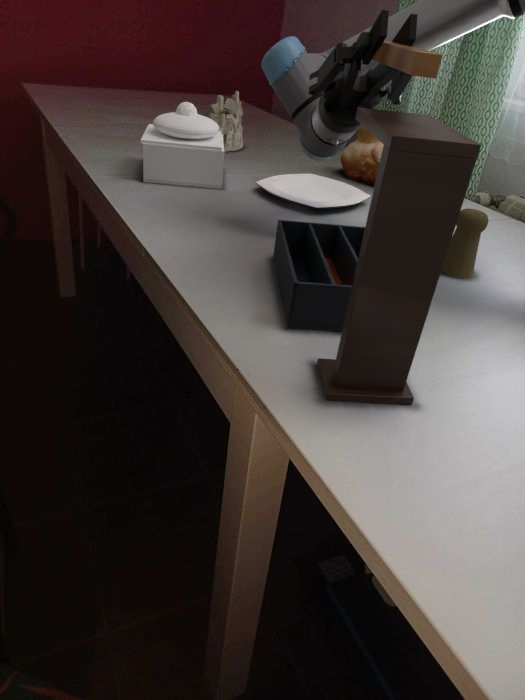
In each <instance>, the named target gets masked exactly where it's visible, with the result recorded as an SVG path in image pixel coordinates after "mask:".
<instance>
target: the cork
mask: <svg viewBox="0 0 525 700" xmlns="http://www.w3.org/2000/svg"><path fill="white" fill-rule="evenodd" d="M488 225H489V215H488V214H487V213H486V212H484V211H482V210H480V209H476V208H463V209H462V208H461V210H460V214H459V217H458V220H457V223H456V226H455V229H454V233H453V236H452V239H451V242H450V245H449V248H448V251H447V255H446V258H445V261H444V264H443V267H442V270H441V273H443V274H445V275H447V276H450V277H453V278H456V279H457V278H458V279H469V278H472V277H473V276H474V270H475V266H476V265H475V264H476V260H477V256H478V250H479V246H480V245H479V244H480V240H481V235H482V233H483V232H484V231H485V230H486V229H487V227H488Z"/></svg>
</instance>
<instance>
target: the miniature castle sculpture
mask: <svg viewBox="0 0 525 700" xmlns="http://www.w3.org/2000/svg"><path fill="white" fill-rule="evenodd" d="M243 115H244V110H243V107H242V101H240V92H239V90H236V91H234V94H232V96H231V98H228V97H226V100H225V99H224V96H223V95H221V94H217V96H216V103H213V104H210V105H209V106H208V108H207V109H206V111H205V112H204V113H203V114H202V116H205V117H208V118H210V119H212V120H213V121H214V122H216V123H217V124H218V126H219V131H221V134H223V143H224V151H225V153H226V152H236V151H238V150H241V149H243V148H244V141H243V126H242V122H243V121H242V119H243Z"/></svg>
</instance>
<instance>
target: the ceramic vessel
mask: <svg viewBox="0 0 525 700" xmlns="http://www.w3.org/2000/svg"><path fill="white" fill-rule="evenodd" d="M383 146H384V144H382V143H381V142H380V141H379V140H378V139H377V138H376V137H375V136H374V135H373V134H371V133H370V132H369V131H368V130H367V129H366V128H365V127H364V126H363V125H361V126H360V127H359V128H358V135H357V139H356V140H354V141H353V142H351V143H349V144H348V145H347V146H345V147H346V148H344V150H342V153H341V155H340V163H341V167H342V172H343V174H345V176H346V177H347V178H348V179H350V180H353V181H356V182H360V183H363V184H365V185H366V184H367V185H370V186H373V187H374V186H375V181H376V177H377V172H378V168H379V163H380V159H381V154H382V150H383Z"/></svg>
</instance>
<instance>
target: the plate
mask: <svg viewBox="0 0 525 700" xmlns="http://www.w3.org/2000/svg"><path fill="white" fill-rule="evenodd" d="M255 184H256V185H257V186H259V187H260V188H261V189H262V190H264V191H266V192H268V193H269V194H271V195H273V196H275V197H277V198H279V199H281V200H283V201H285V202H287V203H290V204H293V205H296V206H299V207H301V208H305V209H309V210H312V211H319V210H320V211H321V210H333V209H338V208H344V207H351V206H354V205H358V204H360V203H362V202H364V201H367V200H368V199H370V198H371V195H370V194H368V193H366V192H365V191H363V190H361V189H359V188H358V187H355V186H353V185H350V184H349V183H346V182H344V181H343V182H342V181H341V180H337V179H333V178H330V177H326V176H322V175H318V174H314V173H287V174H286V173H285V174H278V175H272V176H269V177H265V178H263V179H260V180H257V181H255Z"/></svg>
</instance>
